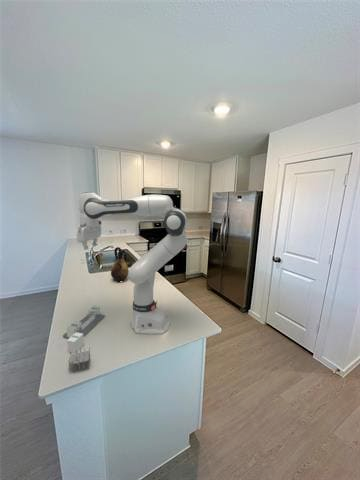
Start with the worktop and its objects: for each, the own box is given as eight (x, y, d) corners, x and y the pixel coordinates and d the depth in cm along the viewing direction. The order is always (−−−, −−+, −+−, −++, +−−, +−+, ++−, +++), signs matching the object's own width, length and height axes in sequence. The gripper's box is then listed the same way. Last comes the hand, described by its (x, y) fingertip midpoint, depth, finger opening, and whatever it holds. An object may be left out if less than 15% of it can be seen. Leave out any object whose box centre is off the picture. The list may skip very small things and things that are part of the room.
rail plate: (105, 316, 122) (104, 306, 120) (79, 341, 99) (78, 329, 98) (90, 314, 123) (89, 304, 122) (62, 338, 101) (61, 326, 100)
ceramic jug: (132, 279, 181) (132, 247, 176) (119, 285, 168) (118, 250, 163) (119, 275, 190) (118, 245, 184) (106, 280, 176) (104, 247, 171)
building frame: (89, 369, 83) (89, 357, 82) (68, 374, 80) (67, 362, 79) (90, 358, 89) (90, 346, 88) (70, 363, 86) (69, 351, 85)
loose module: (84, 344, 97) (83, 333, 96) (75, 353, 91) (74, 341, 90) (76, 343, 98) (75, 331, 97) (67, 351, 92) (66, 339, 91)
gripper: (84, 224, 97) (86, 252, 100) (102, 221, 117) (103, 244, 120) (72, 224, 97) (74, 251, 100) (92, 221, 118) (93, 243, 120)
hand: (90, 247), depth 110 cm, fingers open, 8 cm apart
